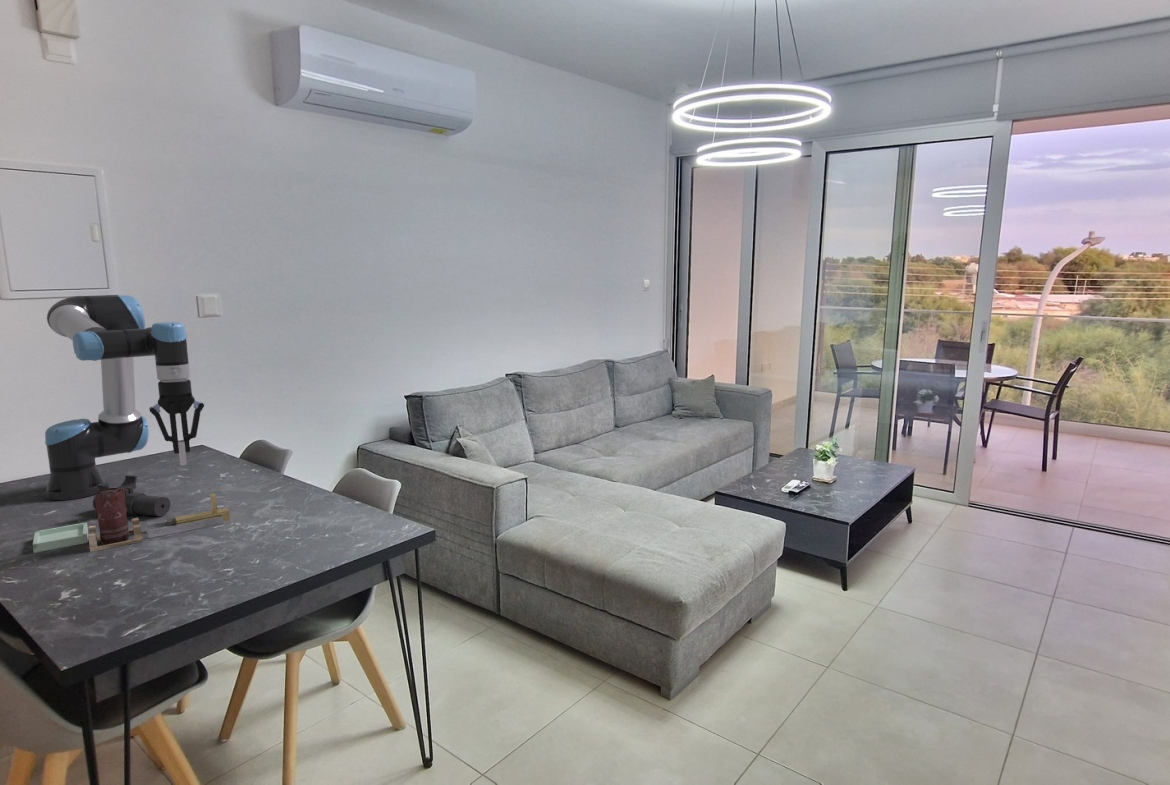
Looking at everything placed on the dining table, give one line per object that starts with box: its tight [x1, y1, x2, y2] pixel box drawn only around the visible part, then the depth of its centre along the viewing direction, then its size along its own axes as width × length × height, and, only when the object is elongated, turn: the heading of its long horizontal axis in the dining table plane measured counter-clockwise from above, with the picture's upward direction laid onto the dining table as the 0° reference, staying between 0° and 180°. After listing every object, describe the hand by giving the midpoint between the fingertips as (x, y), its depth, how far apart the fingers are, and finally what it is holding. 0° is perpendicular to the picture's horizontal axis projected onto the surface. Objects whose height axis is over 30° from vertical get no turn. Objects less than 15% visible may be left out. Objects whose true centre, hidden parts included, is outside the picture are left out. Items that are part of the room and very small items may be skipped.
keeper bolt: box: [166, 492, 231, 526], centre depth 184 cm, size 3×15×8 cm, turn 127°
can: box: [94, 487, 130, 545], centre depth 172 cm, size 6×6×14 cm
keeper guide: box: [145, 516, 225, 539], centre depth 182 cm, size 6×18×2 cm, turn 127°
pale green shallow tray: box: [32, 521, 89, 554], centre depth 173 cm, size 11×11×2 cm
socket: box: [88, 517, 143, 553], centre depth 172 cm, size 10×11×4 cm
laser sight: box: [92, 474, 171, 517], centre depth 192 cm, size 10×22×10 cm, turn 78°
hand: (183, 463), depth 180 cm, fingers closed
